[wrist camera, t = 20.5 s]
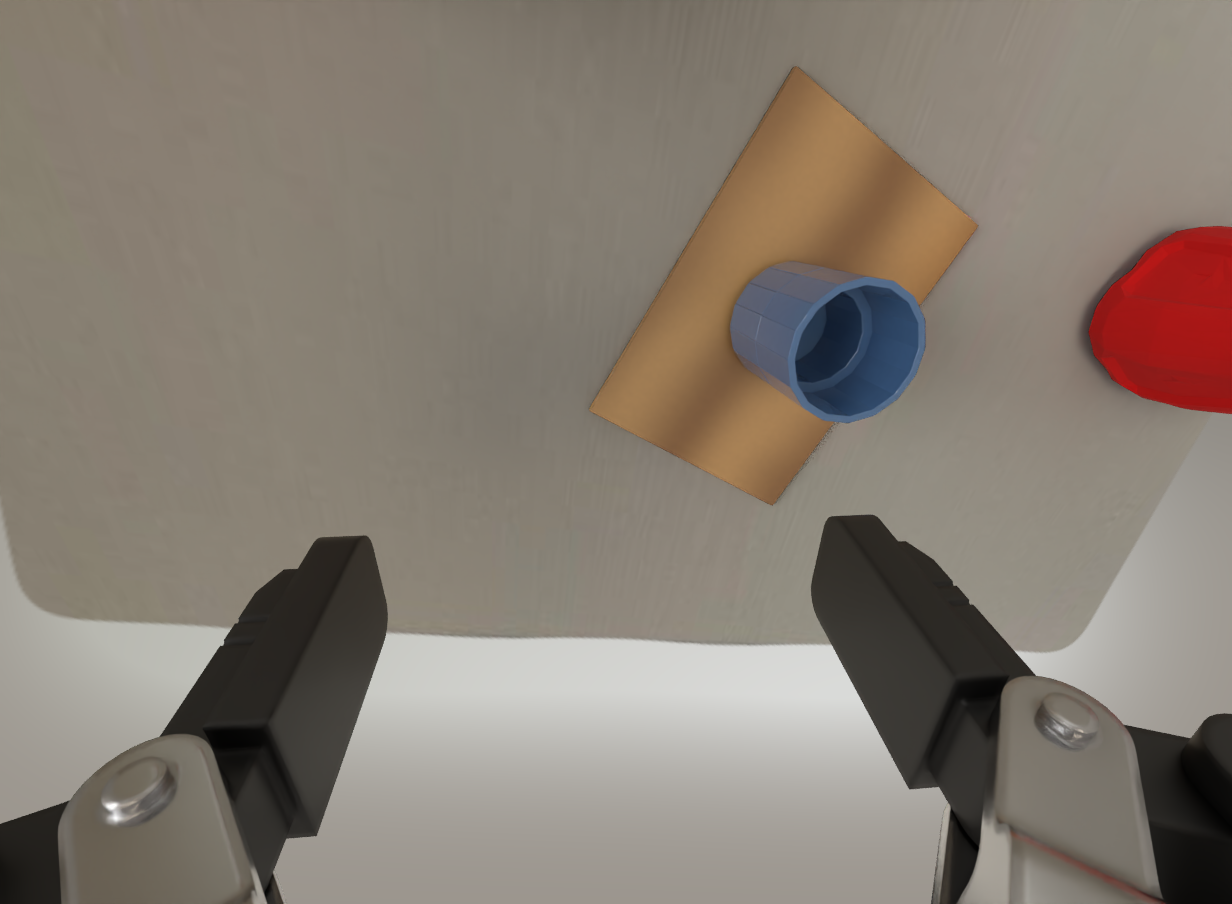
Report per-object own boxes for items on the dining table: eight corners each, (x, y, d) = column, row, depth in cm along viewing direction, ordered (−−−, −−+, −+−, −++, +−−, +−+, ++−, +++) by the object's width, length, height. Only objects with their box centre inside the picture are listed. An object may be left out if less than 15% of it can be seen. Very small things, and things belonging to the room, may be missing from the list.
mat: (588, 408, 33) (589, 411, 33) (793, 67, 28) (796, 65, 28) (770, 503, 38) (772, 506, 38) (973, 225, 33) (978, 225, 33)
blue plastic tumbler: (704, 342, 33) (760, 382, 25) (771, 237, 31) (851, 247, 24) (789, 394, 35) (863, 444, 28) (856, 299, 33) (953, 326, 26)
